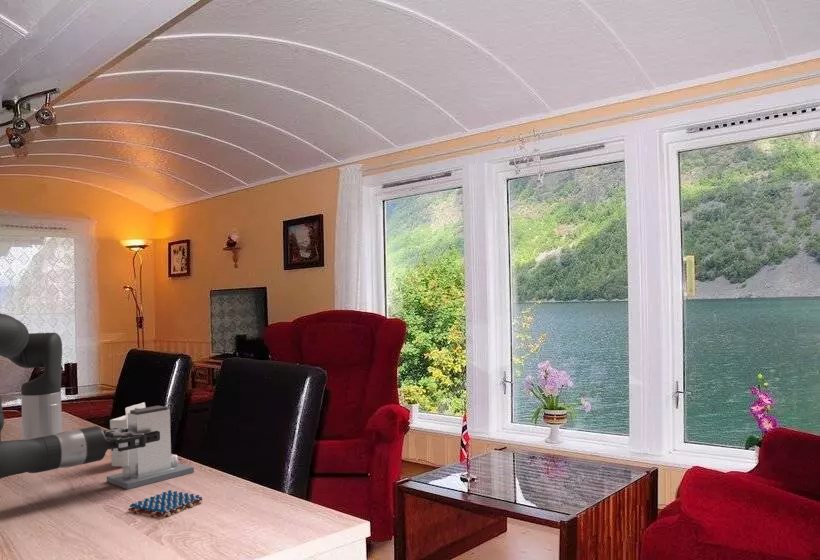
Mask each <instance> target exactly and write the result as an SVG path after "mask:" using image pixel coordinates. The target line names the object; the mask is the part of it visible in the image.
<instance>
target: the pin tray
mask: <svg viewBox="0 0 820 560" xmlns="http://www.w3.org/2000/svg"><path fill="white" fill-rule="evenodd" d="M121 468H122V472H120V473H116V474H111V475H107V476H106V483H110V484H112V485H115V486H117V487H121V488H122V489H124V490H131V489H134V488H138V487H142V486H147V485H151V484H155V483H158V482H161V481H166V480H170V479H173V478H174V479H175V478H177V477H181V475H182V476H184V475H188V474H192V473H195V467H193V466H192V465H191V466H190V465H188V464H187V465H186V464H184V463H181V462H178V455H177V454H171V469H170V470H166V471H162V472H158V473H154V474H149V475H145V476H141V477H136V476H133V475H130V466H123V467H121Z"/></svg>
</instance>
